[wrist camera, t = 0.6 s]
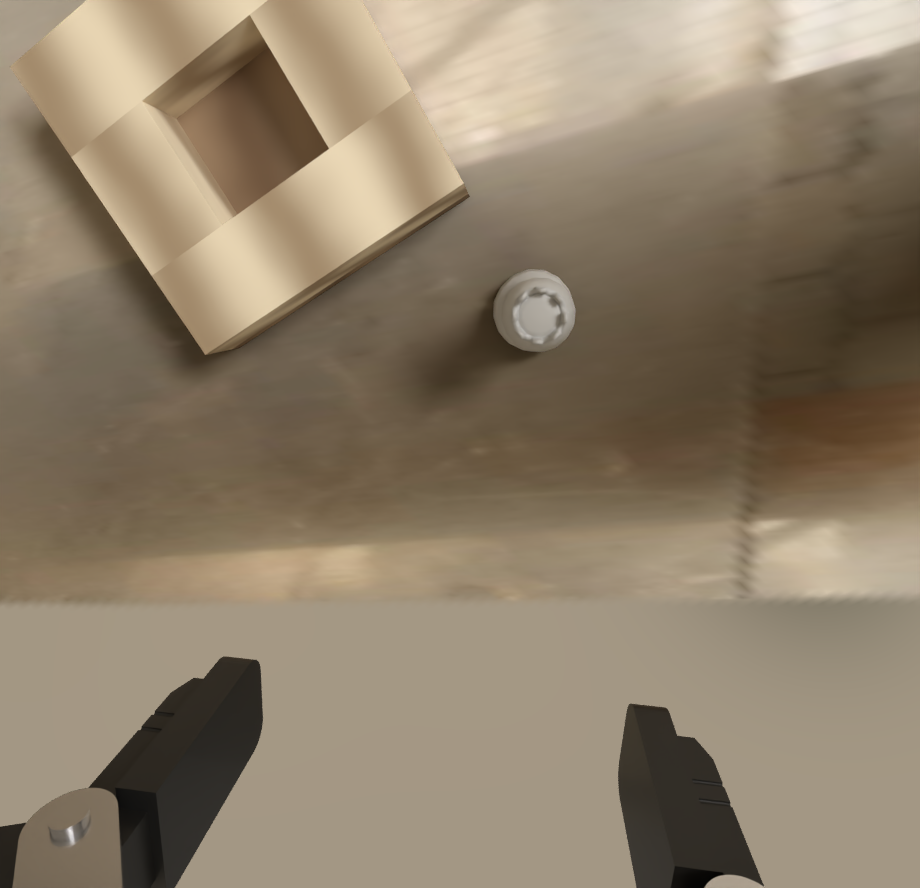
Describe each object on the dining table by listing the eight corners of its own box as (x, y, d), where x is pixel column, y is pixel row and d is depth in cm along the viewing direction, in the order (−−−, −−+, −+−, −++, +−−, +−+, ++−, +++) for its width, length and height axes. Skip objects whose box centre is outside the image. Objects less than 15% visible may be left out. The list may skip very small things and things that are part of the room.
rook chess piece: (518, 364, 34) (520, 386, 26) (478, 296, 33) (468, 298, 25) (587, 324, 33) (610, 334, 25) (548, 253, 32) (560, 240, 24)
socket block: (304, -101, 29) (272, -161, 25) (469, 196, 32) (463, 183, 28) (70, 94, 32) (10, 66, 28) (239, 347, 35) (205, 354, 31)
